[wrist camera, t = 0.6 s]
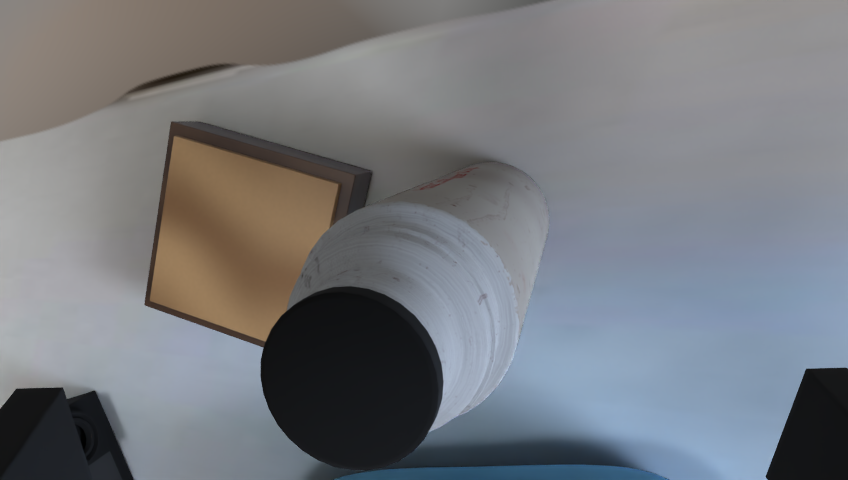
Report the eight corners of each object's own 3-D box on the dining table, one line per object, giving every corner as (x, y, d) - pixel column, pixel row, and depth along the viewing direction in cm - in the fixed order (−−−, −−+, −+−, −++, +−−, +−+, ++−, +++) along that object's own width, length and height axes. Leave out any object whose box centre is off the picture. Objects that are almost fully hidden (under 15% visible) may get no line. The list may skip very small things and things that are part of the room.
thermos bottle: (415, 188, 43) (154, 294, 17) (522, 142, 41) (417, 179, 14) (460, 292, 44) (277, 555, 17) (567, 252, 42) (548, 486, 15)
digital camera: (153, 495, 54) (92, 548, 47) (105, 506, 55) (40, 559, 49) (106, 386, 53) (38, 424, 46) (59, 401, 54) (-13, 439, 48)
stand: (199, 121, 46) (165, 121, 43) (372, 171, 44) (352, 175, 40) (172, 293, 50) (138, 307, 46) (331, 348, 47) (310, 368, 43)
